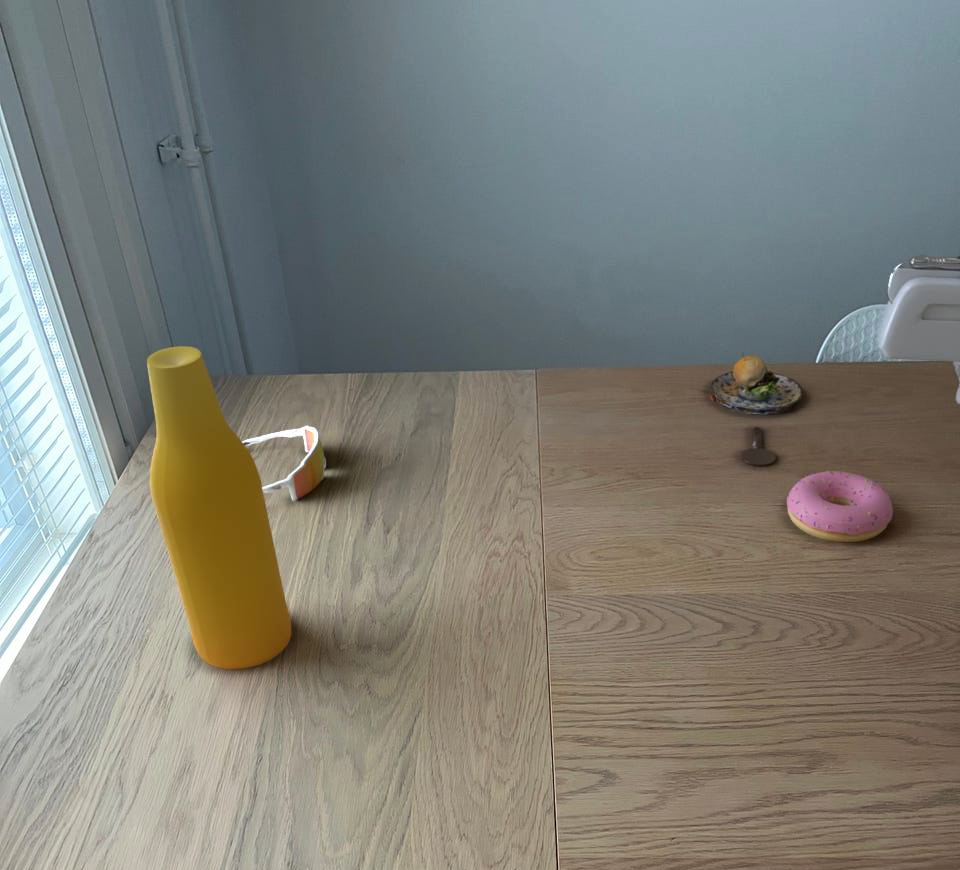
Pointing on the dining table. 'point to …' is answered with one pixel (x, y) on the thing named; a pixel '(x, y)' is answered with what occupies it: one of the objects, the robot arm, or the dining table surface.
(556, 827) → the dining table surface
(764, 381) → the burger
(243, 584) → the beer bottle
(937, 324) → the robot arm
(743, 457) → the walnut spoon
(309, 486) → the sunglasses
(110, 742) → the dining table surface
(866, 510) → the doughnut
